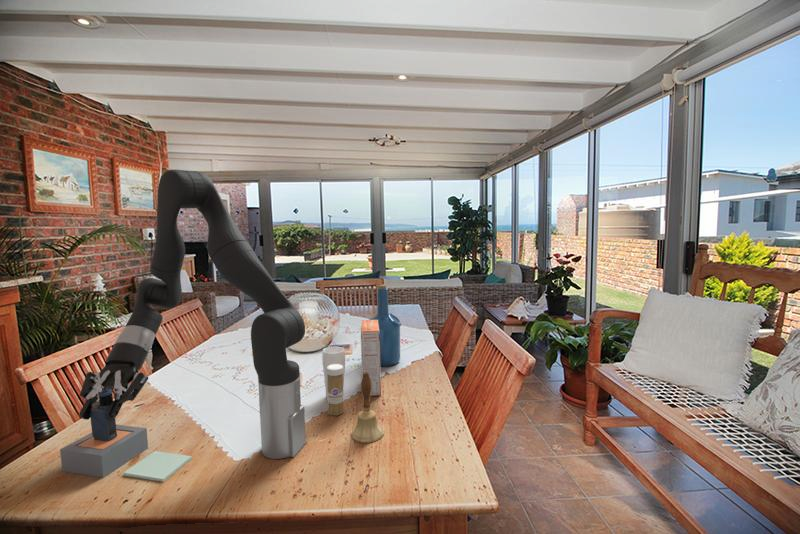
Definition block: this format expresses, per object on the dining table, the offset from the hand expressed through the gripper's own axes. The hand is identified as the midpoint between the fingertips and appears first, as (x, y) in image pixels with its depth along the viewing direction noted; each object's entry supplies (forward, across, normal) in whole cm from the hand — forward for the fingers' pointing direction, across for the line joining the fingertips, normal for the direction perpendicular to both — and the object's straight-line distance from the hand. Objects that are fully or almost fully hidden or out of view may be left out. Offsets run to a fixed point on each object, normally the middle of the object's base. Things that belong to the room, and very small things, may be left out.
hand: (96, 418), depth 84 cm
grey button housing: (+6, 0, +9) cm, 11 cm away
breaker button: (+5, 0, +7) cm, 9 cm away
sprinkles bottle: (-10, +48, +25) cm, 55 cm away
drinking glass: (-17, +46, +32) cm, 58 cm away
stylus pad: (+8, +14, +7) cm, 17 cm away
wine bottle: (-39, +58, +54) cm, 88 cm away
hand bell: (-2, +58, +17) cm, 61 cm away
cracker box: (-22, +56, +37) cm, 71 cm away
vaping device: (+3, 0, +6) cm, 6 cm away
